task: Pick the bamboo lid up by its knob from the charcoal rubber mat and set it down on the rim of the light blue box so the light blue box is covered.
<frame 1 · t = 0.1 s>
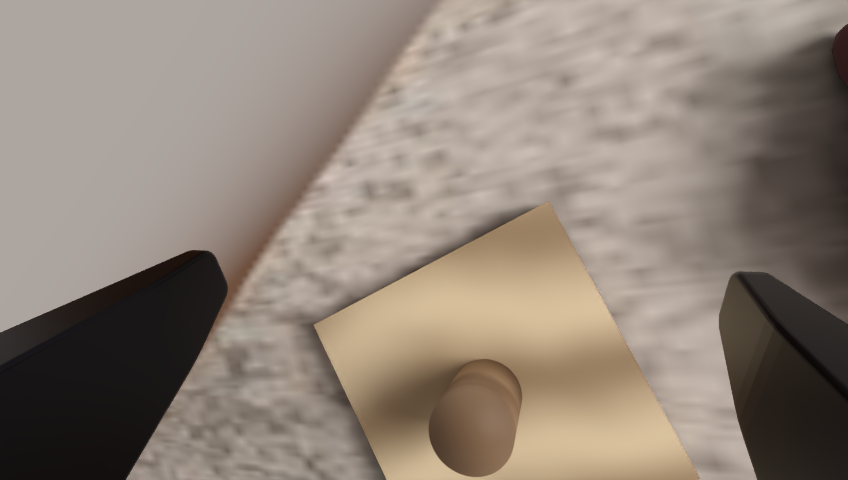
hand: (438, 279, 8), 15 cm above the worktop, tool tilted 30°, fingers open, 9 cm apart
lid: (488, 388, 22), point 1 cm above the worktop, touching mat
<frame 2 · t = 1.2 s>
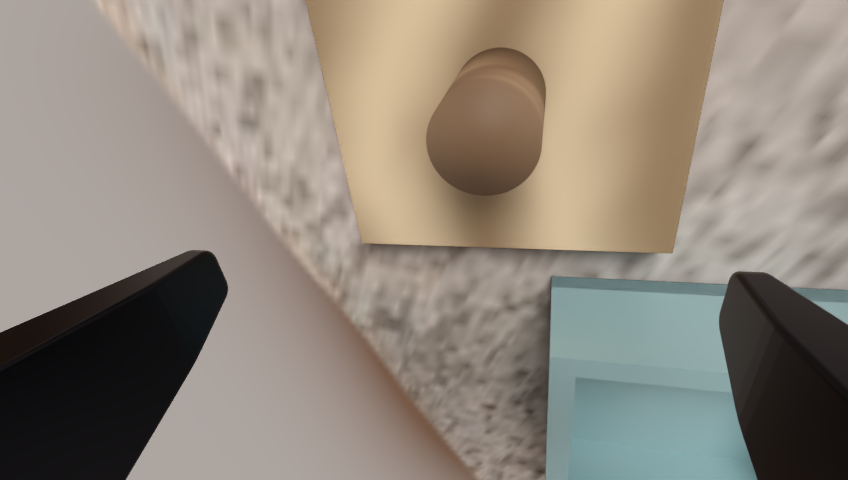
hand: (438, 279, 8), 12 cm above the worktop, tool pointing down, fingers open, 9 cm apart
lid: (501, 88, 17), point 1 cm above the worktop, touching mat
light blue box: (672, 376, 24), on the worktop
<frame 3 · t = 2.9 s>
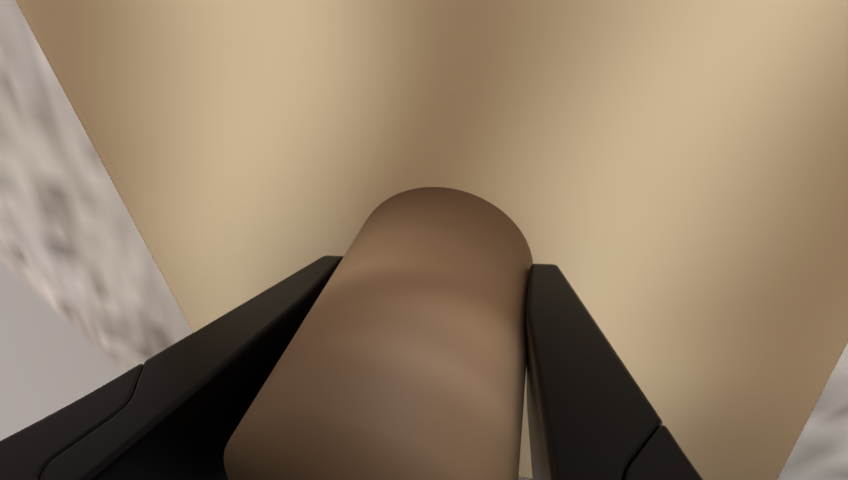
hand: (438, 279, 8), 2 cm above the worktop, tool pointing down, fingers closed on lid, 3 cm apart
lid: (451, 240, 9), point 1 cm above the worktop, touching gripper, mat
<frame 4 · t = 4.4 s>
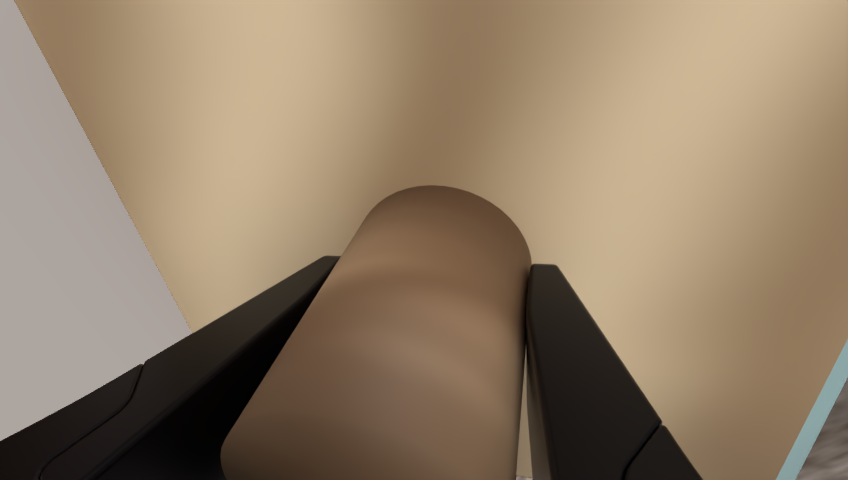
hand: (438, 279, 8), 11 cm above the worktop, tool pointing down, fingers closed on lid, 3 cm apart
lid: (449, 239, 9), point 10 cm above the worktop, touching gripper
light blue box: (621, 299, 21), on the worktop
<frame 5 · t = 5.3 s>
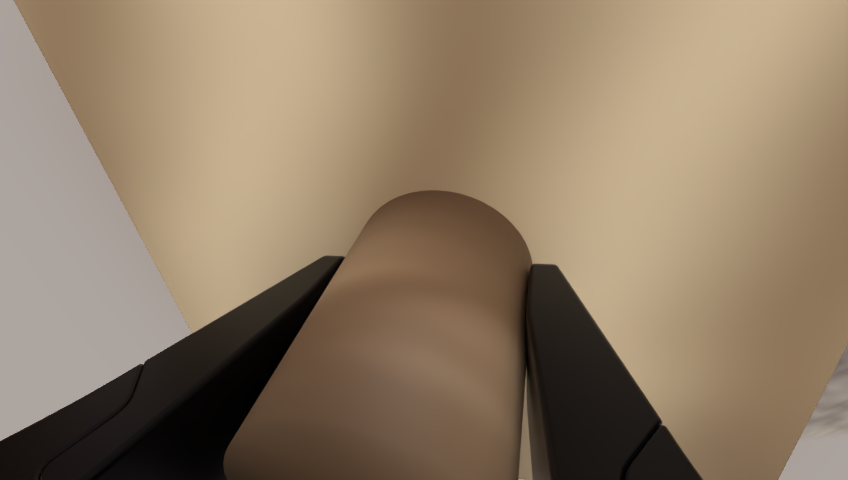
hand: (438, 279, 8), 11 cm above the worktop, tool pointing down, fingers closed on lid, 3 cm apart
lid: (450, 243, 9), point 9 cm above the worktop, touching gripper
when the fingers open (7 cm above the worktop, at t = 6.0 s): lid drops 1 cm, resting on light blue box.
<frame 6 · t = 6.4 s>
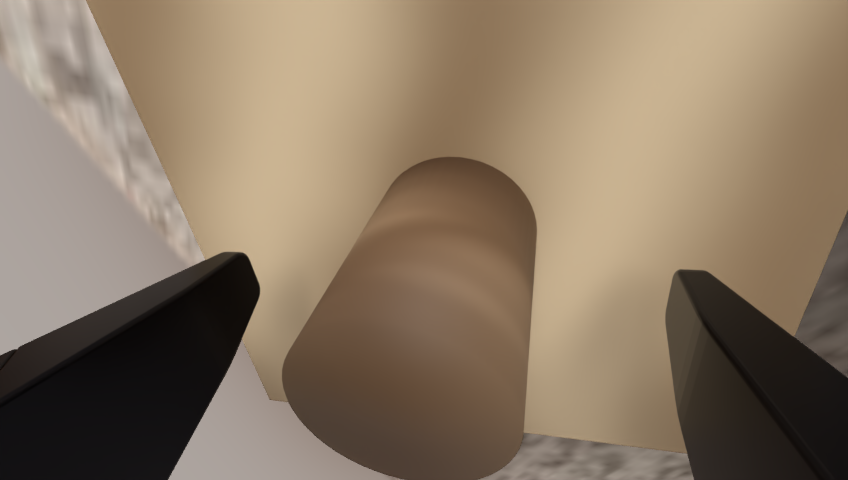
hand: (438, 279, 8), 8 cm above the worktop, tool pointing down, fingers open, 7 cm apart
lid: (462, 209, 10), point 5 cm above the worktop, touching light blue box
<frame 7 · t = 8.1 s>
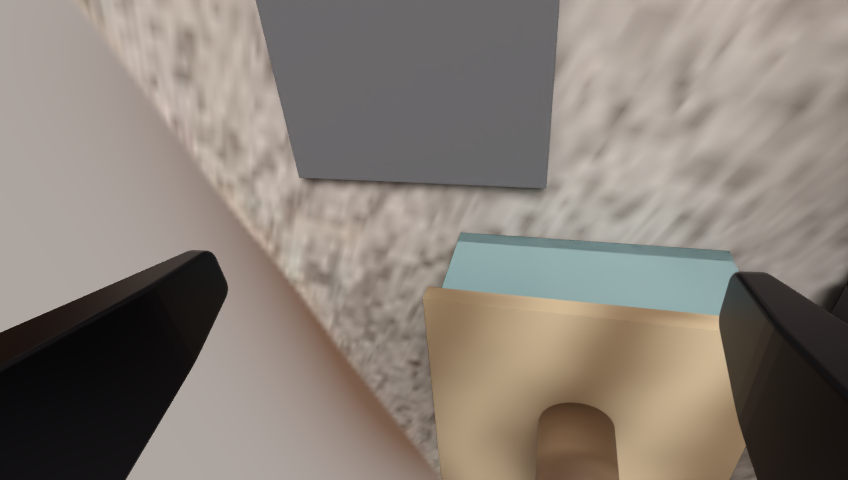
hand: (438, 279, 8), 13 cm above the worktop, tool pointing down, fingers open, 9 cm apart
mat: (405, 44, 19), on the worktop
lid: (575, 411, 22), point 5 cm above the worktop, touching light blue box
light blue box: (574, 333, 26), on the worktop
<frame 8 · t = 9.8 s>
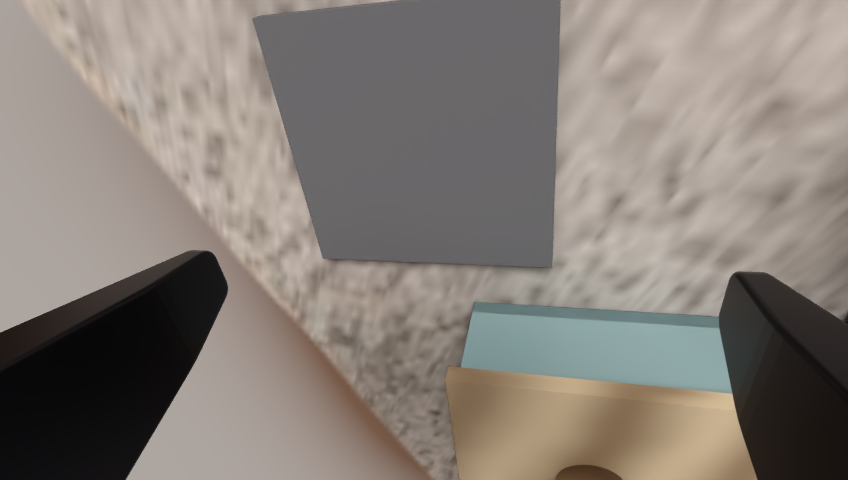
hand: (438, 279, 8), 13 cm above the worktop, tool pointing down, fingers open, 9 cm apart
mat: (417, 147, 21), on the worktop
lid: (589, 468, 23), point 5 cm above the worktop, touching light blue box
light blue box: (584, 386, 27), on the worktop
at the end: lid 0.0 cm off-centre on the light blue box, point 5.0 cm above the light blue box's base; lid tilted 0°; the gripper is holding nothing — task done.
